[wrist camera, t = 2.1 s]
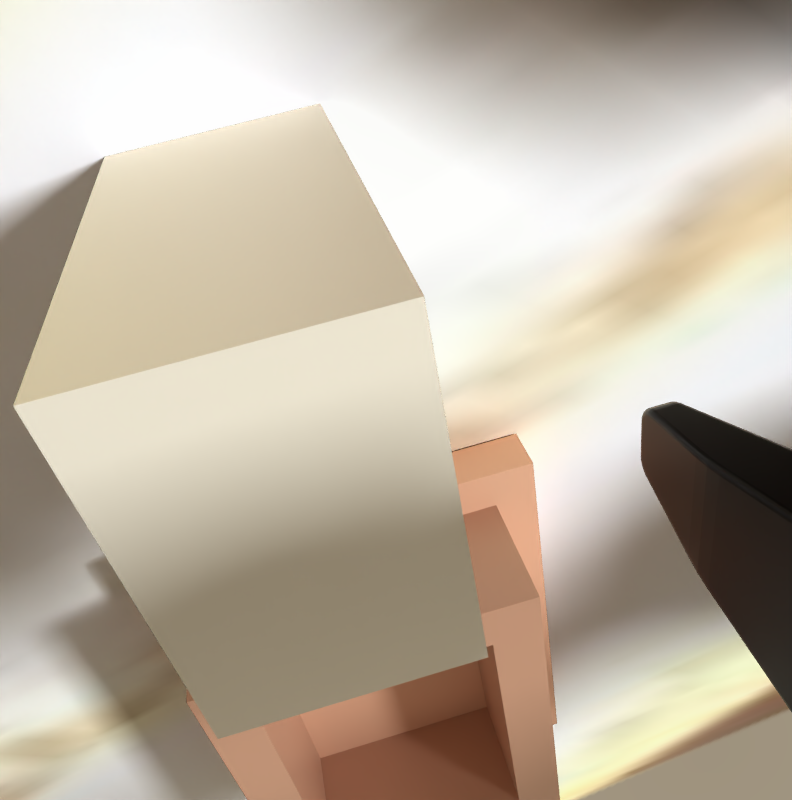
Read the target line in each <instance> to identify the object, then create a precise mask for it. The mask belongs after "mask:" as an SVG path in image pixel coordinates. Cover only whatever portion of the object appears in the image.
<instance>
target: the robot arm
mask: <svg viewBox="0 0 792 800" xmlns="http://www.w3.org/2000/svg"><path fill="white" fill-rule="evenodd" d="M641 461H642V466H643V469H644V472H645V475H646V477H647V479H648V480H649V482H650V484H651V486H652V488H653V490H654V492H655V494H656V496H657V498H658V500H659V501H660V503H661V505H662V507H663V509H664V511H665V513H666V515H667V517H668V519H669V521H670V523H671V524H672V526H673V528H674V530H675V532H676V534H677V536H678V538H679V540H680V542H681V544H682V545H683V547H684V549H685V551H686V553H687V555H688V557H689V559H690V560H691V562H692V564H693V566H694V568H695V569H696V571H697V573H698V574H699V576H700V578H701V579H702V581H703V582H704V584H705V585H706V587H707V589H708V590H709V591H710V593H711V594H712V596H713V597H714V599H715V600H716V602H717V603H718V605H719V606H720V608H721V609H722V611H723V612H724V613H725V615H726V616H727V618H728V619H729V621H730V622H731V624H732V625H733V627H734V628H735V630H736V631H737V633H738V634H739V636H740V637H741V638H742V640H743V641H744V643H745V644H746V646H747V647H748V649H749V650H750V652H751V653H752V655H753V656H754V658H755V659H756V661H757V662H758V663H759V665H760V666H761V668H762V669H763V671H764V672H765V674H766V675H767V677H768V678H769V680H770V681H771V683H772V684H773V686H774V687H775V688H776V690H777V691H778V693H779V694H780V696H781V697H782V699H783V700H784V702H785V703H786V705H787V706H788V708H789V709H790V710H791V712H792V449H790V448H787V447H785V446H782V445H780V444H778V443H775V442H773V441H770V440H768V439H766V438H763V437H761V436H758V435H756V434H754V433H751V432H749V431H746V430H744V429H742V428H739V427H737V426H734V425H732V424H730V423H727V422H725V421H722V420H720V419H718V418H715V417H713V416H710V415H708V414H706V413H703V412H701V411H698V410H696V409H694V408H691V407H689V406H686V405H684V404H682V403H678V402H669V403H665V404H662V405H658V406H655V407H651V408H648V409H647V410H645V411H644V413H643V416H642V431H641Z"/></svg>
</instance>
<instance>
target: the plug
mask: <svg viewBox="0 0 792 800" xmlns="http://www.w3.org/2000/svg"><path fill="white" fill-rule="evenodd" d="M13 407H14V409H15V410H16V412H17V413H18V415H19V417H20V418H21V420H22V422H23V423H24V425H25V426H26V428H27V430H28V431H29V433H30V435H31V436H32V438H33V439H34V441H35V443H36V444H37V446H38V448H39V449H40V451H41V452H42V454H43V456H44V457H45V459H46V461H47V462H48V464H49V465H50V467H51V469H52V470H53V472H54V474H55V475H56V477H57V478H58V480H59V482H60V483H61V485H62V487H63V488H64V490H65V491H66V493H67V495H68V496H69V498H70V500H71V501H72V503H73V504H74V506H75V508H76V509H77V511H78V513H79V514H80V516H81V517H82V519H83V521H84V522H85V524H86V526H87V527H88V529H89V530H90V532H91V534H92V535H93V537H94V539H95V540H96V542H97V543H98V545H99V547H100V548H101V550H102V552H103V553H104V555H105V556H106V558H107V560H108V561H109V563H110V565H111V566H112V568H113V569H114V571H115V573H116V574H117V576H118V578H119V579H120V581H121V582H122V584H123V586H124V587H125V589H126V591H127V592H128V594H129V595H130V597H131V599H132V600H133V602H134V604H135V605H136V607H137V608H138V610H139V612H140V613H141V615H142V617H143V618H144V620H145V621H146V623H147V625H148V626H149V628H150V630H151V631H152V633H153V634H154V636H155V638H156V639H157V641H158V643H159V644H160V646H161V647H162V649H163V651H164V652H165V654H166V656H167V657H168V659H169V660H170V662H171V664H172V665H173V667H174V669H175V670H176V672H177V673H178V675H179V677H180V678H181V680H182V682H183V683H184V685H185V686H186V688H187V690H188V691H189V693H190V695H191V696H192V698H193V699H194V701H195V703H196V704H197V706H198V708H199V709H200V711H201V712H202V714H203V716H204V717H205V719H206V721H207V722H208V724H209V725H210V727H211V729H212V730H213V732H214V734H215V735H216V737H217V738H218V739H220V738H224V737H227V736H230V735H234V734H237V733H240V732H243V731H247V730H250V729H253V728H257V727H260V726H263V725H267V724H270V723H273V722H276V721H280V720H283V719H286V718H290V717H293V716H296V715H300V714H303V713H306V712H309V711H313V710H316V709H319V708H323V707H326V706H329V705H333V704H336V703H339V702H342V701H346V700H349V699H352V698H356V697H359V696H362V695H366V694H369V693H372V692H375V691H379V690H382V689H385V688H389V687H392V686H395V685H399V684H402V683H405V682H409V681H412V680H415V679H418V678H422V677H425V676H428V675H432V674H435V673H438V672H442V671H445V670H448V669H451V668H455V667H458V666H461V665H465V664H468V663H471V662H475V661H478V660H481V659H484V658H488V652H487V647H486V641H485V636H484V630H483V624H482V619H481V613H480V607H479V602H478V596H477V591H476V585H475V579H474V574H473V568H472V562H471V557H470V551H469V546H468V540H467V534H466V529H465V523H464V517H463V512H462V506H461V501H460V495H459V489H458V484H457V478H456V473H455V467H454V461H453V456H452V450H451V444H450V439H449V433H448V428H447V422H446V416H445V411H444V405H443V399H442V394H441V388H440V383H439V377H438V371H437V366H436V360H435V354H434V349H433V343H432V338H431V332H430V326H429V321H428V315H427V310H426V304H425V298H424V295H423V293H422V291H421V289H420V288H419V286H418V284H417V282H416V280H415V278H414V277H413V275H412V273H411V271H410V269H409V267H408V265H407V264H406V262H405V260H404V258H403V256H402V254H401V252H400V251H399V249H398V247H397V245H396V243H395V241H394V240H393V238H392V236H391V234H390V232H389V230H388V228H387V227H386V225H385V223H384V221H383V219H382V217H381V215H380V214H379V212H378V210H377V208H376V206H375V204H374V203H373V201H372V199H371V197H370V195H369V193H368V191H367V190H366V188H365V186H364V184H363V182H362V180H361V178H360V177H359V175H358V173H357V171H356V169H355V167H354V166H353V164H352V162H351V160H350V158H349V156H348V154H347V153H346V151H345V149H344V147H343V145H342V143H341V141H340V140H339V138H338V136H337V134H336V132H335V130H334V129H333V127H332V125H331V123H330V121H329V119H328V117H327V116H326V114H325V112H324V110H323V108H322V106H321V104H316V105H312V106H308V107H303V108H299V109H295V110H291V111H287V112H283V113H279V114H275V115H271V116H267V117H263V118H259V119H255V120H251V121H247V122H243V123H239V124H235V125H231V126H227V127H223V128H219V129H215V130H211V131H206V132H202V133H198V134H194V135H190V136H186V137H182V138H178V139H174V140H170V141H166V142H162V143H158V144H154V145H150V146H146V147H142V148H138V149H134V150H130V151H126V152H122V153H118V154H114V155H109V156H105V157H104V160H103V163H102V165H101V168H100V171H99V174H98V176H97V179H96V182H95V184H94V187H93V190H92V193H91V195H90V198H89V201H88V203H87V206H86V209H85V212H84V214H83V217H82V220H81V223H80V225H79V228H78V231H77V233H76V236H75V239H74V242H73V244H72V247H71V250H70V252H69V255H68V258H67V261H66V263H65V266H64V269H63V271H62V274H61V277H60V280H59V282H58V285H57V288H56V291H55V293H54V296H53V299H52V301H51V304H50V307H49V310H48V312H47V315H46V318H45V320H44V323H43V326H42V329H41V331H40V334H39V337H38V340H37V342H36V345H35V348H34V350H33V353H32V356H31V359H30V361H29V364H28V367H27V369H26V372H25V375H24V378H23V380H22V383H21V386H20V388H19V391H18V394H17V397H16V399H15V402H14V405H13Z"/></svg>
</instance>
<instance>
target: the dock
mask: <svg viewBox="0 0 792 800" xmlns="http://www.w3.org/2000/svg"><path fill="white" fill-rule="evenodd" d="M452 456H453V461H454V467H455V473H456V478H457V484H458V489H459V495H460V501H461V506H462V512H463V517H464V523H465V529H466V534H467V540H468V546H469V551H470V557H471V562H472V568H473V574H474V579H475V585H476V591H477V596H478V602H479V607H480V613H481V619H482V624H483V630H484V636H485V641H486V647H487V652H488V658H484V659H481V660H478V661H475V662H471V663H468V664H465V665H461V666H458V667H455V668H451V669H448V670H445V671H442V672H438V673H435V674H432V675H428V676H425V677H422V678H418V679H415V680H412V681H409V682H405V683H402V684H399V685H395V686H392V687H389V688H385V689H382V690H379V691H375V692H372V693H369V694H366V695H362V696H359V697H356V698H352V699H349V700H346V701H342V702H339V703H336V704H333V705H329V706H326V707H323V708H319V709H316V710H313V711H309V712H306V713H303V714H300V715H296V716H293V717H290V718H286V719H283V720H280V721H276V722H273V723H270V724H267V725H263V726H260V727H257V728H253V729H250V730H247V731H243V732H240V733H237V734H234V735H230V736H227V737H224V738H220V739H218V738H217V737H216V735H215V734H214V732H213V730H212V729H211V727H210V725H209V724H208V722H207V721H206V719H205V717H204V716H203V714H202V712H201V711H200V709H199V708H198V706H197V704H196V703H195V701H194V699H193V698H192V696H191V695H190V693H189V691H188V690H187V697H186V703H187V704H188V706H189V708H190V709H191V711H192V712H193V714H194V715H195V717H196V719H197V720H198V722H199V723H200V725H201V727H202V728H203V730H204V731H205V733H206V735H207V736H208V738H209V739H210V741H211V743H212V744H213V746H214V747H215V749H216V750H217V752H218V754H219V755H220V757H221V758H222V760H223V762H224V763H225V765H226V766H227V768H228V770H229V771H230V773H231V774H232V776H233V778H234V779H235V781H236V782H237V784H238V785H239V787H240V789H241V790H242V792H243V793H244V795H245V797H246V798H247V800H560V796H559V786H558V775H557V765H556V755H555V745H554V735H553V725H554V724H557V718H556V708H555V697H554V686H553V675H552V664H551V653H550V643H549V632H548V621H547V610H546V599H545V589H544V578H543V567H542V556H541V545H540V535H539V524H538V513H537V502H536V491H535V480H534V470H533V462H532V461H531V459H530V457H529V455H528V454H527V452H526V450H525V448H524V447H523V445H522V443H521V441H520V440H519V438H518V436H517V434H514V435H511V436H507V437H503V438H500V439H496V440H493V441H489V442H486V443H482V444H479V445H475V446H472V447H468V448H465V449H461V450H458V451H454V452H452Z"/></svg>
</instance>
